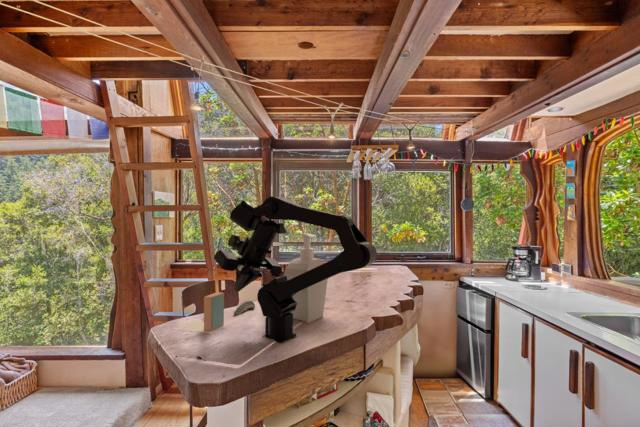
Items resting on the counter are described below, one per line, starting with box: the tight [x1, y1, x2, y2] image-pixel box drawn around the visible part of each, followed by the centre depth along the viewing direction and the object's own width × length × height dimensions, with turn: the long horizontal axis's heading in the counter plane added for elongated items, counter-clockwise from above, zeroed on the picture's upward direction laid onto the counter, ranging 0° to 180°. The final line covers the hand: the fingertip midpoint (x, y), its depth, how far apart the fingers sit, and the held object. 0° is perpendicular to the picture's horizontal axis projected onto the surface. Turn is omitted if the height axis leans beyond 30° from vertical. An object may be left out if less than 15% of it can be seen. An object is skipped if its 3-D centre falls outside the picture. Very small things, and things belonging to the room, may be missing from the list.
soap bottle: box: [283, 232, 329, 324], centre depth 114 cm, size 12×10×26 cm
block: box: [203, 292, 225, 331], centre depth 101 cm, size 2×6×9 cm, turn 161°
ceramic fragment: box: [231, 300, 256, 317], centre depth 120 cm, size 14×5×4 cm, turn 163°
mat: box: [172, 319, 230, 334], centre depth 102 cm, size 12×9×1 cm
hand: (236, 290), depth 100 cm, fingers closed
